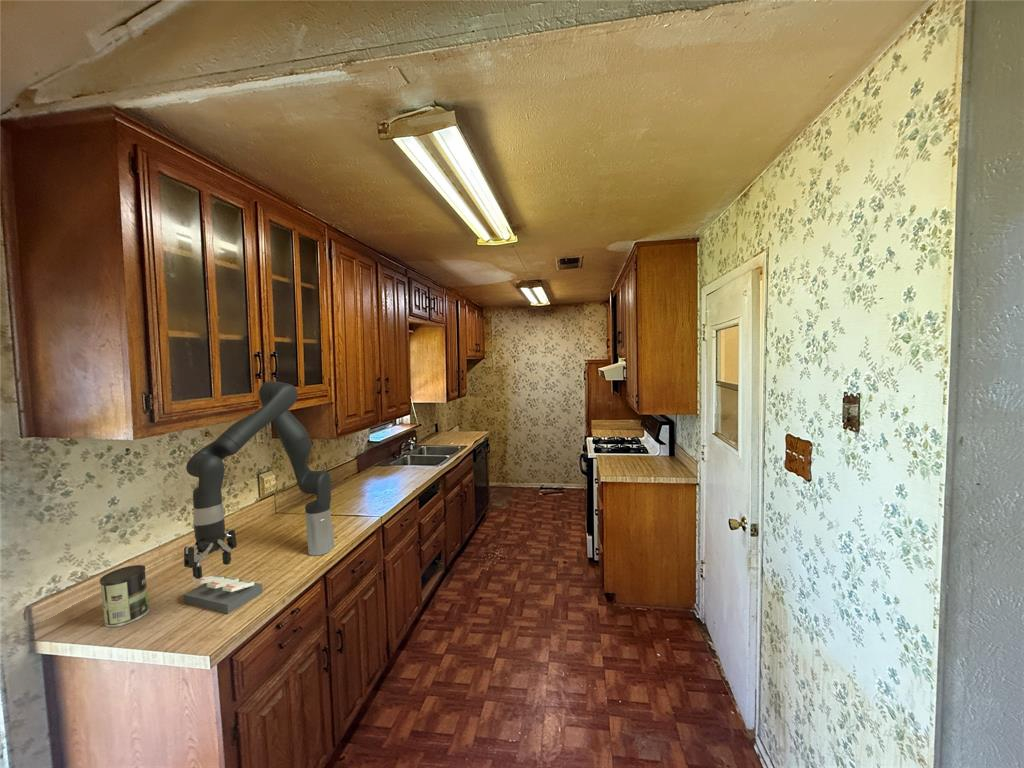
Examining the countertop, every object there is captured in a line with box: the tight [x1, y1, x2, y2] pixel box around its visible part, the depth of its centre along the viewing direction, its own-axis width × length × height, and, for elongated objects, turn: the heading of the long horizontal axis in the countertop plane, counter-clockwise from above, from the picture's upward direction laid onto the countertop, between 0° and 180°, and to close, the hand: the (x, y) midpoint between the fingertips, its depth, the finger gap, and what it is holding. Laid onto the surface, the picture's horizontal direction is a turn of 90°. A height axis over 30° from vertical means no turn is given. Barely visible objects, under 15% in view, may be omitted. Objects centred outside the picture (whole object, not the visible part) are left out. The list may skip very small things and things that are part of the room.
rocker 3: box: [222, 580, 255, 592], centre depth 134 cm, size 8×5×1 cm, turn 161°
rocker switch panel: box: [182, 575, 263, 615], centre depth 136 cm, size 12×20×3 cm, turn 71°
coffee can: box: [99, 564, 150, 628], centre depth 127 cm, size 10×10×14 cm
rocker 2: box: [207, 577, 240, 589], centre depth 136 cm, size 8×5×1 cm, turn 161°
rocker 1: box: [191, 575, 225, 585], centre depth 138 cm, size 8×5×1 cm, turn 161°
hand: (212, 570), depth 126 cm, fingers open, 8 cm apart
